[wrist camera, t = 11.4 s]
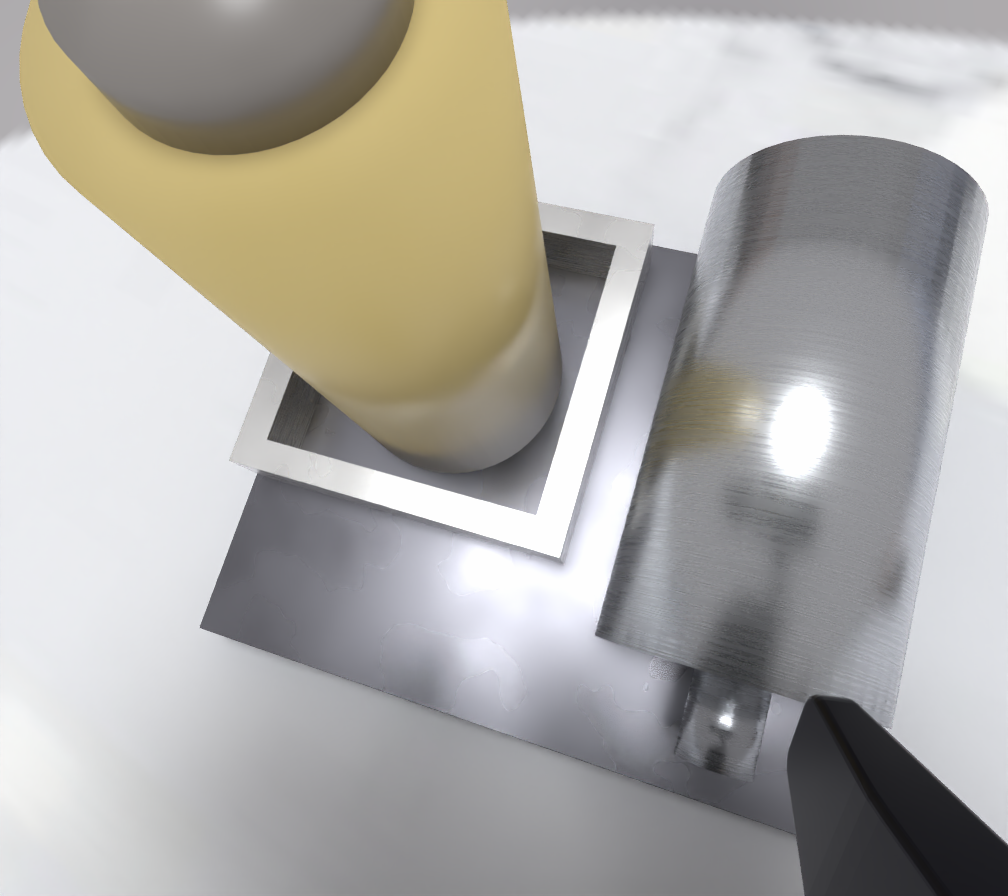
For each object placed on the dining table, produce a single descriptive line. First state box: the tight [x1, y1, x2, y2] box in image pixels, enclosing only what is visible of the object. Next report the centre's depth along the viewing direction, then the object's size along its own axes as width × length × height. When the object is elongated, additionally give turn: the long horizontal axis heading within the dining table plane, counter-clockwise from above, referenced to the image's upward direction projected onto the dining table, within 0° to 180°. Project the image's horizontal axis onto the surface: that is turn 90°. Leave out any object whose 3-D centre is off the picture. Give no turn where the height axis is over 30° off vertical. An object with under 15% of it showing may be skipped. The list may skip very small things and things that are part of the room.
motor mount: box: [200, 135, 989, 835], centre depth 18 cm, size 14×17×8 cm
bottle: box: [20, 0, 562, 473], centre depth 15 cm, size 6×6×14 cm
